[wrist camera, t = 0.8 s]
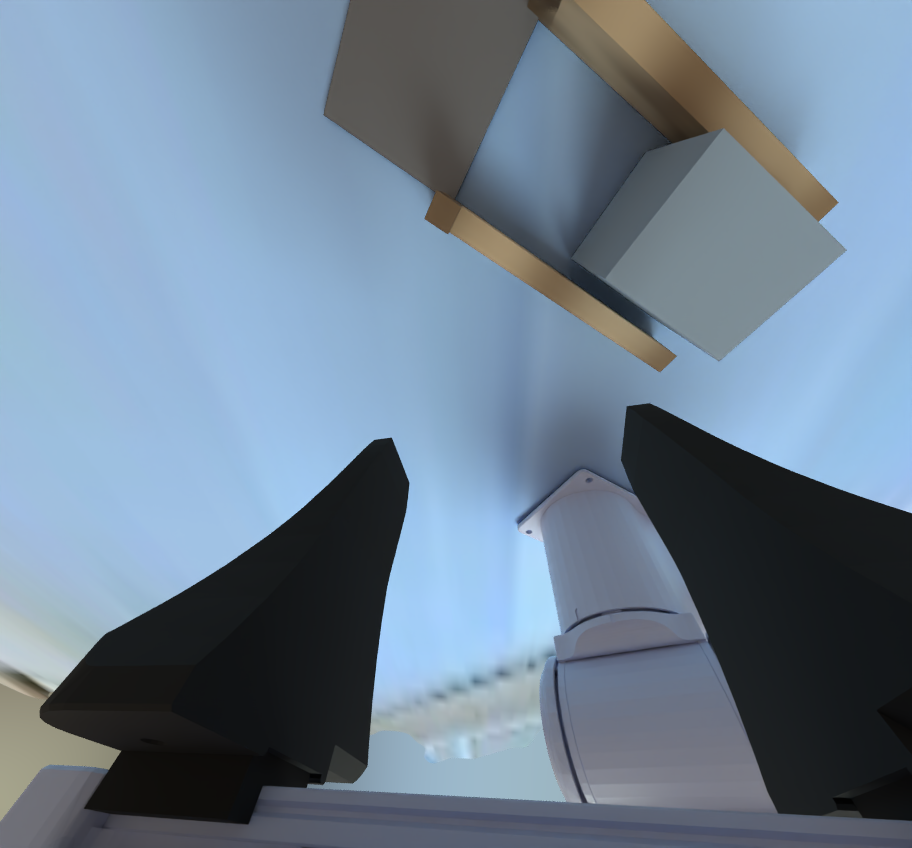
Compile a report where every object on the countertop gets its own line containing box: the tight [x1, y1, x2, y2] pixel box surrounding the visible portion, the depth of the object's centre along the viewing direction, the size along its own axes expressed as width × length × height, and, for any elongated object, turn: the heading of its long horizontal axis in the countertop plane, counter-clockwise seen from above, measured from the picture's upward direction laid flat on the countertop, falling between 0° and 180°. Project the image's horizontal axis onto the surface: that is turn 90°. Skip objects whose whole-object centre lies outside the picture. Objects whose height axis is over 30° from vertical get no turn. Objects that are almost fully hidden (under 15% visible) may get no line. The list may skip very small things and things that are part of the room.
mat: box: [324, 0, 539, 199], centre depth 12 cm, size 6×6×1 cm
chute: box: [424, 0, 838, 372], centre depth 13 cm, size 13×8×4 cm, turn 60°
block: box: [571, 128, 847, 361], centre depth 13 cm, size 6×4×5 cm
